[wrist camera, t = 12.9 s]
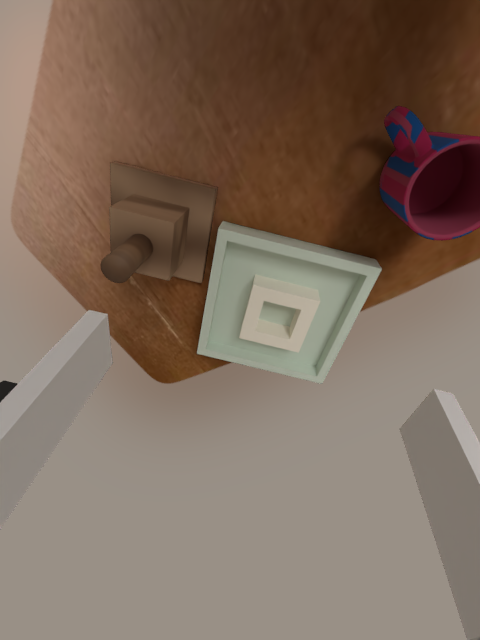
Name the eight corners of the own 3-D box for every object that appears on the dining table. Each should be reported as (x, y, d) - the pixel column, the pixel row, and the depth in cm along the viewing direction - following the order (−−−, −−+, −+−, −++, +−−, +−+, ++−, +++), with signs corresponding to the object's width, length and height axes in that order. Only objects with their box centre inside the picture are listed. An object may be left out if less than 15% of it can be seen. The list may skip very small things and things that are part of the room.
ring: (241, 325, 37) (239, 338, 35) (255, 274, 33) (253, 284, 31) (297, 339, 37) (298, 352, 35) (318, 289, 33) (320, 301, 31)
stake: (114, 161, 29) (38, 182, 20) (218, 187, 29) (187, 220, 20) (116, 257, 35) (57, 308, 26) (203, 279, 35) (174, 337, 26)
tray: (222, 220, 31) (218, 228, 29) (375, 259, 31) (382, 269, 29) (201, 341, 40) (196, 353, 38) (320, 370, 40) (322, 383, 38)
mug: (398, 230, 30) (424, 257, 24) (347, 133, 26) (365, 139, 20) (474, 185, 27) (525, 203, 21) (431, 69, 23) (478, 54, 17)
